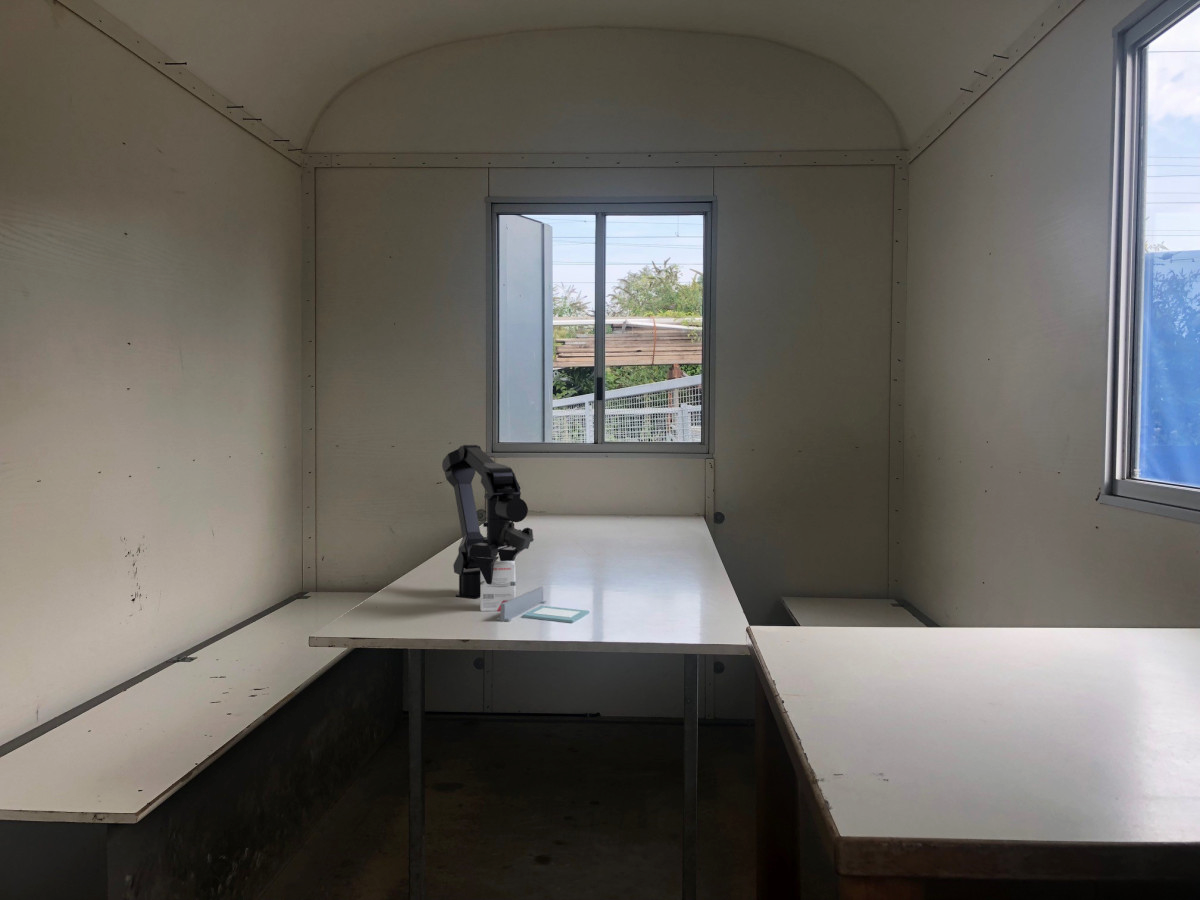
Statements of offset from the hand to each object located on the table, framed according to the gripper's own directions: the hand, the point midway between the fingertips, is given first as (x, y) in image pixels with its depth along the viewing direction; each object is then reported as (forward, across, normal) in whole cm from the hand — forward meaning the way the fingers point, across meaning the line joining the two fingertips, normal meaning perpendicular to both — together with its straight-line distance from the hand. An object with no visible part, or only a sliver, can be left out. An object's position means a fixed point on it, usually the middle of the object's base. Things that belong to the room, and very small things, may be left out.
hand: (498, 580), depth 185 cm
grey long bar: (+7, 0, -7) cm, 10 cm away
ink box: (+7, 0, 0) cm, 7 cm away
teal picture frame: (+7, 0, -16) cm, 17 cm away
